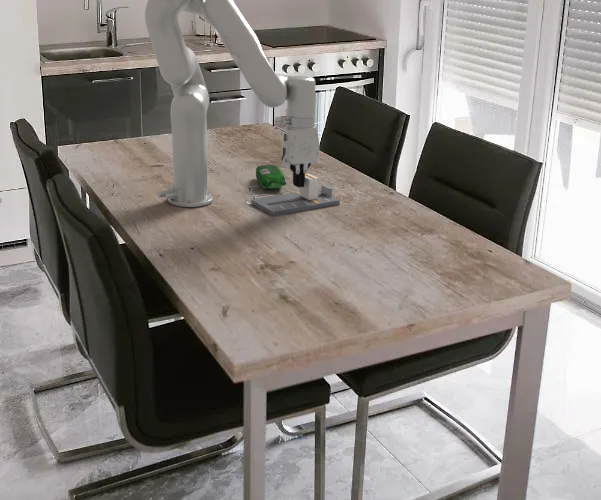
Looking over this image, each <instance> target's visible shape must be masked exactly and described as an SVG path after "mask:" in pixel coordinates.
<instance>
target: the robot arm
mask: <svg viewBox="0 0 601 500" xmlns="http://www.w3.org/2000/svg"><path fill="white" fill-rule="evenodd" d="M144 9H145V10H144V22H145V26H146V30H147V33H148V36H149V40H150V41H151V45H152V49H153V52H154V56H155V59H156V61H157V65H158V69H159V72H160V73H159V74H160V75H161V76H162V78H163V81H165V82H166V83H167V84H169V85H170V88H171V91H172V93H173V98H172V101H171V104H170V124H171V145H172V146H171V148H172V184H170V185H169V187H168V188H167V189H161V190H160V189H159V190H157V191H156V195H157V198H158V199H159V198H165V199H167V202H169V204H171V205H174V206H177V207H181V208H182V207H183V208H197V207H204V206H207V205H210V204H211V203H212V202H213V200H214V197H213V196H214V195H212V194H211V193H210V192H208V132H207V131H208V130H207V129H208V127H207V113H208V112H207V111H208V109H209V105H210V95H209V92H208V88H207V85H206V82H205V79H204V76H203V73H202V69H201V66H200V64H199V60H198V58H197V56H196V54H195V52H194V51H193V50H192V49H191V48H190V47H188V46H187V45H186V42H185V40H184V35H183V32H182V29H181V27H180V24H179V20H178V19H179V15H180V14H181V13H182V12H186V13H190V14H194V15H199V16H203V17H204V18H205V20H206V21H207V23H208V24H209V25H210V27H211V29H212V30H213V31H214V33H215V34H216V36H217V37H218V39H219V40H220V42H221V43H222V45H223V47H225V49H226V50H227V52H228V53H229V55H230V57H231V59H232V61H233V62H234V63H235V65H236V66H237V68H238V69H239V71H240V73H241V74H242V76H243V77H244V80H245V81H246V82H247V84H248V85H249V87H250V88H251V90H252V91H253V93H254V94H255V95H256V97H257V98H258V100H259V102H261V103H262V104H263V105H264V106H265V107H268V108H278V107H281V106H282V105H283V104H284V103H285V101H286V103H287V104H286V105H287V106H286V119H283V121H282V122H283V125H286V126H284V130H283V135H282V139H281V152H280V153H281V154H280V155H281V161H282V164H281V167H282V168H284V169H289V170H290V171H291V172H292V183H293V186H295V187H297V188H300V187H304V183H305V173H306V174H307V172H308V169H309V168H310V167H311V166H313V165H315V164H317V161H318V160H319V158H320V141H319V140H320V139H319V132H318V128H317V126H316V125H315V109H316V79H315V78H314V77H312V76H309V75H287V74H280V73H277V72H275V71H274V69H273V68H272V66H271V64H270V63H269V61H268V59H267V57H266V56H265V54H264V51H263V49H262V46H261V42H260V40H259V37H258V36H257V35H256V33H255V31H254V30H253V28H252V27H251V26H250V24H249V23H248V22H247V20H246V19H245V17H244V15H243V14H242V13H241V11H240V9H239V8H238V6H237V5H236V1H235V0H147V2H146V5H145V8H144Z"/></svg>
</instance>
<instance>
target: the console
mask: <svg viewBox="0 0 601 500" xmlns="http://www.w3.org/2000/svg"><path fill="white" fill-rule="evenodd" d="M320 188H321V189H320V190H319V189H318V198H317V199H311V200H308V199H306V198H304V197H302V196H300V195H299V191H295V192H294V191H293V192H289V193H283V194H278V195H271V196H270V195H269V196H265V197H264V196H263V197H258V198H254V199H253V198H252V199H250V201H251V202H250V203H251V205H252V206H253V205H254V207H257V208H258V209H260V210H262V211H264V212H266V213H268V214H269V215H271V216H272V217H275V216H280V215H286V214H287V215H288V214H292V213H293V214H294V213H298V212H299V213H300V212H304V211H311V210H315V209H322V208H326V207H333V206H337V205H340V204H341V199H338V198H336V197H334V196H333V188H332V187H331V186H328V185H326V184H321V187H320Z"/></svg>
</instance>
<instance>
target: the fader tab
mask: <svg viewBox="0 0 601 500" xmlns="http://www.w3.org/2000/svg"><path fill="white" fill-rule="evenodd" d="M319 180H320V179H319V177H317V176H315V175H313V174H311V173H307V172H306V173H305V183H304V187H300V188H299V191H298V192H299V195H300V196H302V197H304V198H306V199H308V200H311V199H317V198H318V190H319Z"/></svg>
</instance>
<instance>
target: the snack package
mask: <svg viewBox="0 0 601 500" xmlns="http://www.w3.org/2000/svg"><path fill="white" fill-rule="evenodd" d="M255 178H256V180H257V181H258V184H259V185H260V186H261V187H262V188H263V189H264V188H270V189H269V190H271V189H273V190H274V189H280V188H282V187H283V186H286V185H287V181H286V179H285V178H286V177H285V175H284V172H283V171H282V170H281V169H280V168H279V167H278V166H277V165H275V164H263V165H258V166H257V167H256V169H255Z"/></svg>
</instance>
